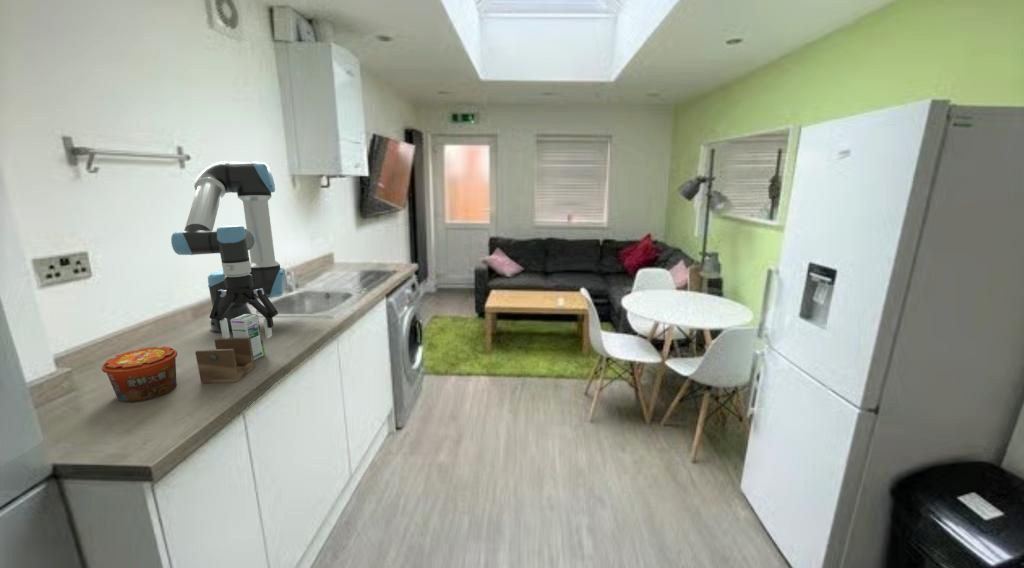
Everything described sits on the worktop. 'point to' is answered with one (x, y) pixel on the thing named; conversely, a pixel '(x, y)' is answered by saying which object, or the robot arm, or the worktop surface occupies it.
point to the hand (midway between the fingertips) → (247, 337)
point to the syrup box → (249, 332)
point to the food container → (142, 373)
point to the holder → (226, 360)
